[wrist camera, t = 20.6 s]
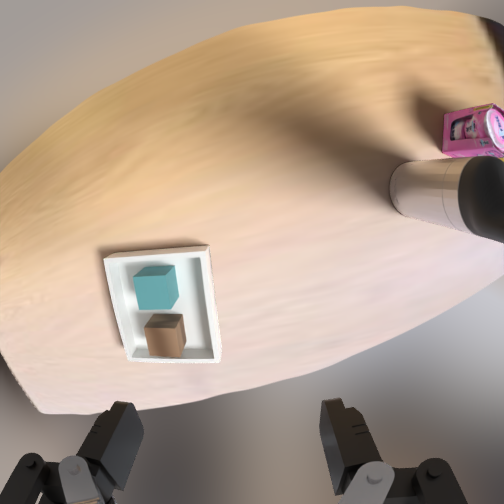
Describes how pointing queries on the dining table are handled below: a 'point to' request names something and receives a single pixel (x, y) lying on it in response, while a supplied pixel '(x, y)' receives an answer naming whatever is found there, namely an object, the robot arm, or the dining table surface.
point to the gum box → (474, 132)
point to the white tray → (189, 304)
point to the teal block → (156, 288)
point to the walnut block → (165, 335)
